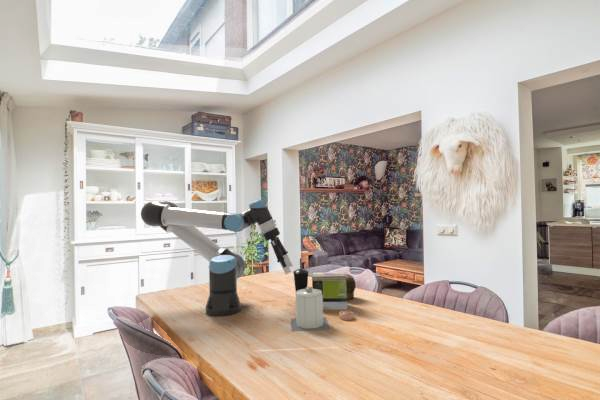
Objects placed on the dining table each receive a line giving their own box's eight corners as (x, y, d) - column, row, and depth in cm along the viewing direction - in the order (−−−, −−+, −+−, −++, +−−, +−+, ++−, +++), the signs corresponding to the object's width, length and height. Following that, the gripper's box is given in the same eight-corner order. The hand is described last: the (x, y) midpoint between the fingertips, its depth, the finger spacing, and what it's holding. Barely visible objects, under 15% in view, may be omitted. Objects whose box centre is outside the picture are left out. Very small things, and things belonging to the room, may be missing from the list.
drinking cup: (291, 299, 162) (290, 258, 163) (305, 297, 165) (304, 256, 166) (297, 303, 155) (296, 260, 156) (312, 300, 158) (311, 258, 159)
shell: (331, 300, 158) (330, 275, 158) (335, 295, 168) (335, 271, 168) (354, 302, 154) (353, 276, 155) (357, 296, 165) (356, 272, 165)
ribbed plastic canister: (297, 328, 120) (296, 291, 120) (296, 319, 130) (295, 284, 130) (324, 327, 121) (323, 290, 121) (321, 319, 130) (320, 284, 131)
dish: (340, 321, 128) (340, 314, 128) (338, 316, 134) (338, 310, 134) (354, 321, 128) (354, 314, 128) (351, 316, 134) (351, 310, 134)
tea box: (346, 304, 152) (345, 271, 152) (347, 310, 142) (346, 275, 142) (313, 303, 153) (313, 271, 154) (312, 310, 143) (311, 275, 144)
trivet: (291, 332, 118) (291, 331, 118) (290, 319, 132) (290, 318, 132) (330, 330, 119) (330, 329, 119) (325, 318, 133) (325, 317, 133)
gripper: (273, 229, 146) (295, 272, 146) (279, 224, 171) (297, 261, 171) (258, 236, 147) (280, 279, 147) (266, 230, 172) (284, 267, 171)
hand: (289, 269), depth 159 cm, fingers open, 13 cm apart
